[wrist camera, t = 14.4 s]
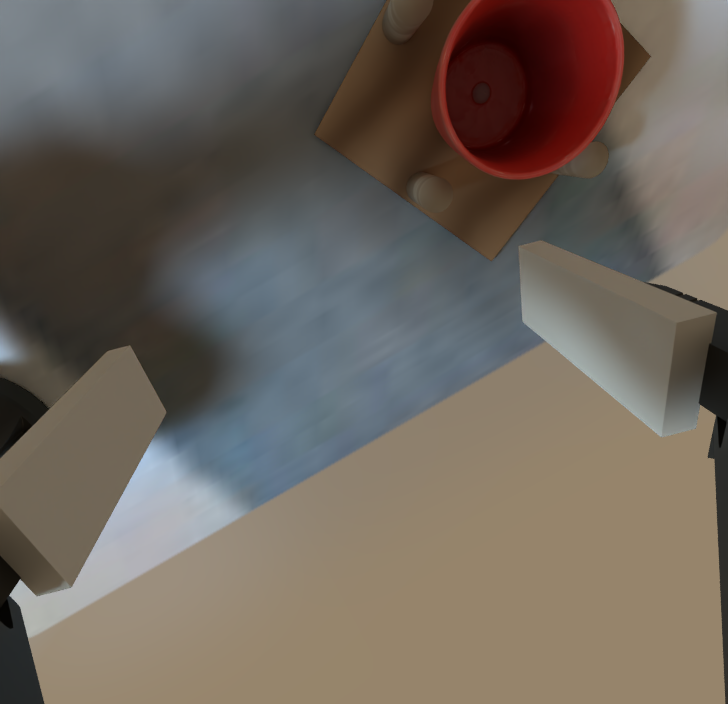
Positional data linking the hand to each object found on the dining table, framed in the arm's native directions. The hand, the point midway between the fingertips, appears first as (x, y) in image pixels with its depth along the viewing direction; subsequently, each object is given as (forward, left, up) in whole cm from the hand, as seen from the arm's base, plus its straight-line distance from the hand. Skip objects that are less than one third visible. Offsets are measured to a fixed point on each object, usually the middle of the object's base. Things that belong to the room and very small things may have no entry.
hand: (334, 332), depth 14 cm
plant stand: (+5, +14, -25) cm, 29 cm away
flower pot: (+5, +14, -25) cm, 29 cm away
